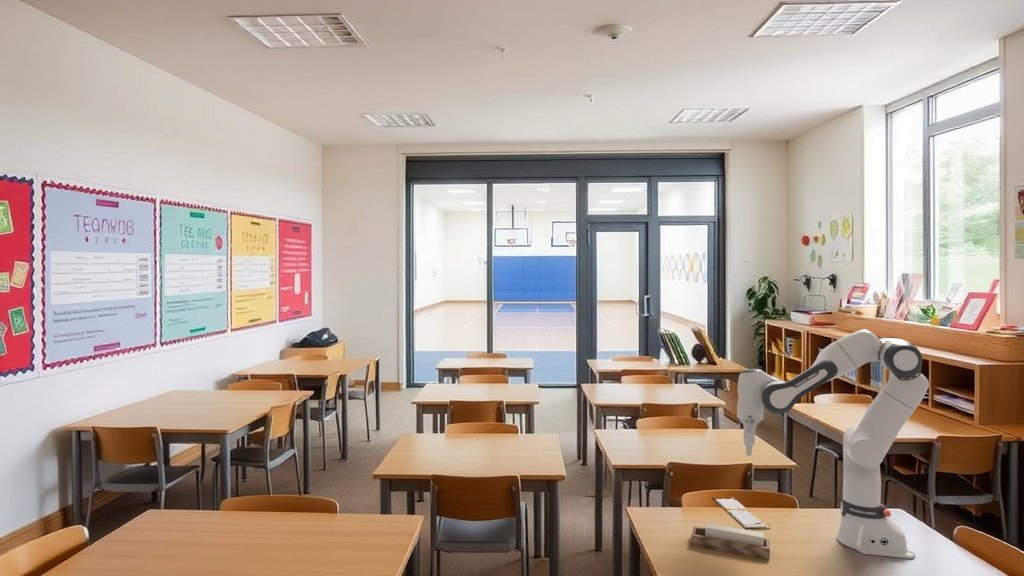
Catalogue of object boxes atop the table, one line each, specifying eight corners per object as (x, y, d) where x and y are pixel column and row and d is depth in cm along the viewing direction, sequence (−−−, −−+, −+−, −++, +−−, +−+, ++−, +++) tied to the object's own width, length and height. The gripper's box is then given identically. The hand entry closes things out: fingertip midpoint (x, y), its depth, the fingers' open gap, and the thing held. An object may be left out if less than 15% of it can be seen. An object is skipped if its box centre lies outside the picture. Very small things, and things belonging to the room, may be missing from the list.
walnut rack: (768, 549, 195) (769, 538, 195) (769, 559, 188) (769, 549, 188) (693, 536, 205) (693, 525, 204) (691, 545, 197) (691, 535, 197)
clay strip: (763, 544, 194) (763, 532, 194) (763, 549, 191) (763, 537, 191) (705, 534, 201) (706, 523, 201) (705, 539, 197) (705, 527, 197)
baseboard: (736, 499, 242) (712, 499, 241) (736, 492, 242) (712, 492, 241) (773, 530, 212) (746, 530, 211) (773, 522, 212) (746, 522, 211)
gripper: (759, 420, 202) (758, 460, 203) (759, 409, 221) (758, 445, 221) (739, 418, 205) (738, 458, 205) (741, 407, 224) (740, 443, 224)
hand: (748, 451), depth 213 cm, fingers open, 8 cm apart
